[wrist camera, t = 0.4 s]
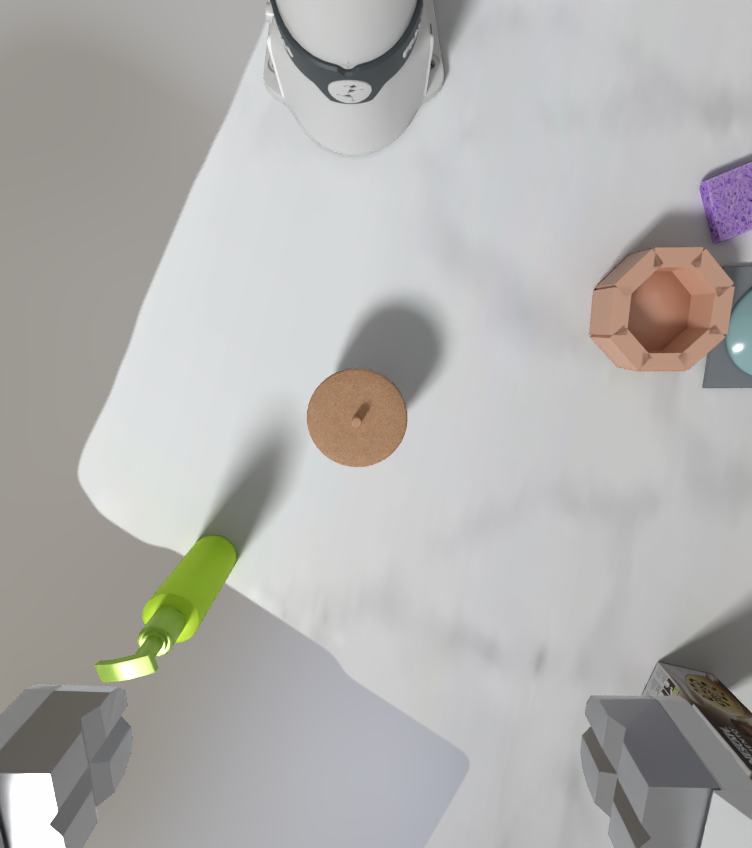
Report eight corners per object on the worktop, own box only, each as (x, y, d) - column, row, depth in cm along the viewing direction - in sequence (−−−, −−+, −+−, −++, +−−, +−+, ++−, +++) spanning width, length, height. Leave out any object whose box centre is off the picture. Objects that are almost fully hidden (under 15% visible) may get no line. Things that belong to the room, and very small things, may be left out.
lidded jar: (359, 343, 53) (355, 347, 44) (420, 406, 55) (430, 422, 46) (297, 406, 55) (282, 422, 46) (359, 465, 57) (356, 492, 48)
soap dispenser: (178, 542, 59) (81, 649, 39) (229, 530, 59) (156, 633, 39) (192, 581, 60) (105, 704, 41) (242, 570, 60) (178, 689, 40)
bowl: (596, 254, 51) (617, 247, 47) (709, 253, 51) (741, 246, 47) (586, 367, 54) (604, 371, 50) (693, 367, 54) (721, 370, 50)
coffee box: (639, 697, 65) (725, 817, 49) (657, 659, 63) (751, 771, 47) (698, 710, 65) (801, 834, 49) (716, 674, 64) (829, 788, 48)
